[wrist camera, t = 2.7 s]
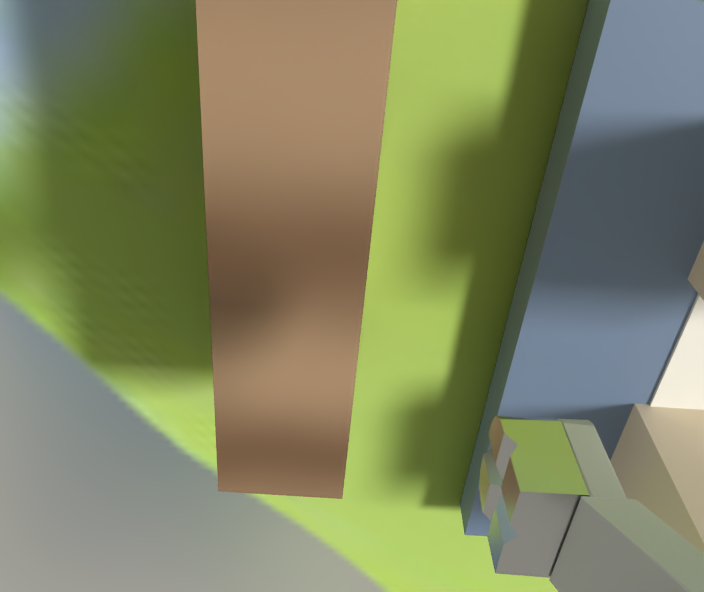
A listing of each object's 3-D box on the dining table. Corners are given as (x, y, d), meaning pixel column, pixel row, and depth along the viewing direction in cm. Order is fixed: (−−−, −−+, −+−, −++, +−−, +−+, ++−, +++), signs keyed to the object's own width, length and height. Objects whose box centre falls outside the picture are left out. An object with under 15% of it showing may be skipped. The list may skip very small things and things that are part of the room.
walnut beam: (243, -200, 15) (185, -222, 10) (399, -185, 15) (419, -199, 10) (247, 356, 24) (218, 491, 19) (345, 362, 24) (342, 498, 19)
